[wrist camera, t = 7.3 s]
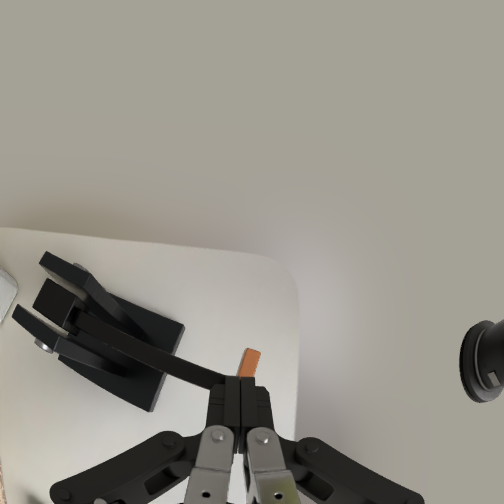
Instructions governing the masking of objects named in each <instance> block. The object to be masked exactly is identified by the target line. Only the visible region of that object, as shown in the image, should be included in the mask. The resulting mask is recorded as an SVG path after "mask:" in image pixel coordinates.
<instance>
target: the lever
mask: <svg viewBox="0 0 504 504" xmlns="http://www.w3.org/2000/svg"><path fill="white" fill-rule="evenodd" d="M32 307H33V308H34V309H35V310H37V311H38V312H39V313H41V314H42V315H44V316H45V317H46V318H48V319H49V320H51V321H52V322H54V323H55V324H56V325H58V326H59V327H61V328H63V329H64V330H66V331H68V332H69V333H71V334H73V335H74V336H78V333H79V331H80V330H82V331H84V332H85V333H87V334H89V335H90V336H92V337H94V338H96V339H97V340H99V341H101V342H103V343H105V344H106V345H108V346H110V347H112V348H114V349H116V350H118V351H120V352H122V353H123V354H125V355H127V356H129V357H131V358H134V359H136V360H138V361H140V362H142V363H144V364H146V365H148V366H151V367H153V368H155V369H157V370H159V371H162V372H164V373H166V374H169V375H171V376H174V377H176V378H178V379H181V380H183V381H186V382H189V383H191V384H194V385H196V386H199V387H202V388H205V389H207V390H211V388H212V387H213V386H214V385H215V384H223V385H225V379H226V375H223V374H220V373H217V372H215V371H212V370H209V369H206V368H204V367H201V366H198V365H196V364H193V363H191V362H188V361H186V360H183V359H181V358H178V357H176V356H173V355H171V354H169V353H166V352H164V351H162V350H160V349H157V348H155V347H153V346H151V345H148V344H146V343H144V342H142V341H140V340H138V339H136V338H134V337H132V336H129V335H127V334H125V333H123V332H121V331H120V330H118V329H116V328H114V327H112V326H110V325H108V324H106V323H104V322H102V321H101V320H99V319H97V318H95V317H93V316H92V315H90V314H88V312H89V310H90V308H89V307H88V306H87V305H86V304H85V303H84V302H83V301H82V300H81V299H80V298H79V297H78V296H77V295H75V294H74V293H72V292H70V291H68V290H67V289H65V288H64V287H62V286H60V285H59V284H57V283H55V282H54V281H52V280H51V279H49V278H47V279H46V281H45V282H44V284H43V286H42V288H41V290H40V292H39V294H38V296H37V298H36V300H35V302H34V304H33V306H32ZM260 355H261V352H259V351H256V350H253V349H250V348H247V349H245V350H244V353H243V356H242V359H241V362H240V365H239V368H238V371H237V374H236V376H240V377H241V376H245V377H254V374H255V371H256V368H257V364H258V361H259V358H260Z"/></svg>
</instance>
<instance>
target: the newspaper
mask: <svg viewBox="0 0 504 504" xmlns="http://www.w3.org/2000/svg"><path fill="white" fill-rule="evenodd" d="M0 504H6V499H5V494H4V488H3V482H2V474H1V465H0Z"/></svg>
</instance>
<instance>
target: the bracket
mask: <svg viewBox="0 0 504 504" xmlns="http://www.w3.org/2000/svg"><path fill="white" fill-rule="evenodd" d="M39 264H40V265H41V266H42V267H43V268H44V269H45V270H46V271H47V272H48V273H49V274H50V275H51V276H52V277H53V278H54V279H55V280H56V281H57V282H58V283H59V284H60V285H61V286H62V287H64V288H65V289H67V290H68V291H70V292H72V293H74V294H75V295H77V296H78V297H79V298H80V299H81V300H82V301H83V302H84V303H85V304H86V305H87V306H88V307H89V308H90V310H89V312H88V314H90V315H92V316H93V317H95V318H97V319H99V320H101V321H102V322H104V323H106V324H108V325H110V326H112V327H114V328H116V329H118V330H120V331H121V332H123V333H125V334H127V335H129V336H132V337H134V338H136V339H138V340H140V341H142V342H144V343H146V344H148V345H151V346H153V347H155V348H157V349H160V350H162V351H164V352H166V353H169V354H171V355H173V356H174V355H175V353H176V350H177V348H178V345H179V343H180V340H181V338H182V335H183V333H184V330H185V326H184V325H183V324H181V323H178V322H176V321H173V320H171V319H168V318H166V317H163V316H161V315H158V314H156V313H154V312H151V311H149V310H146V309H144V308H142V307H139V306H137V305H135V304H133V303H130V302H128V301H126V300H124V299H121V298H119V297H117V296H115V295H113V294H111V293H108V292H107V291H106V290H105V289H104V288H103V287H102V286H101V285H100V284H99V282H98V281H97V280H96V279H95V278H94V277H93V275H92V274H91V273H89V271H88V270H86V269H85V268H84V267H83V266H81V265H79V264H77V263H74V264H73V265H72V264H70V263H68V262H66V261H64V260H63V259H61V258H59V257H57V256H55V255H53V254H51V253H49V252H47V251H46V252H45V253H44V255H43V257H42V258H41V260H40V262H39ZM12 318H13V319H14V320H15V321H17V322H18V323H19V324H20V325H21V326H22V327H23V328H25V329H26V330H27V331H28V332H29V333H31V334H32V335H33V336H34V337H36V339H35V344H36V345H37V346H39V347H40V348H42V349H43V350H45V351H46V352H48V353H51V354H52V353H53V351H54V352H57V353H59V357H58V360H60V361H61V362H63V363H64V364H65V365H67V366H68V367H70V368H71V369H73V370H74V371H76V372H77V373H79V374H80V375H82V376H83V377H85V378H87V379H88V380H90V381H91V382H93V383H95V384H96V385H98V386H100V387H101V388H103V389H105V390H107V391H108V392H110V393H112V394H114V395H116V396H117V397H119V398H121V399H123V400H125V401H127V402H129V403H131V404H133V405H135V406H137V407H139V408H141V409H143V410H145V411H147V412H153V410H154V407H155V404H156V402H157V399H158V396H159V394H160V391H161V389H162V386H163V383H164V381H165V378H166V376H167V374H166V373H164V372H162V371H159V370H157V369H155V368H153V367H151V366H148V365H146V364H144V363H142V362H140V361H138V360H136V359H134V358H131V357H129V356H127V355H125V354H123V353H122V352H120V351H118V350H116V349H114V348H112V347H110V346H108V345H106V344H105V343H103V342H101V341H99V340H97V339H96V338H94V337H92V336H90V335H89V334H87V333H85V332H84V331H82V330H80V331H79V333H78V336H74V335H73V334H71V333H68V335H66V334H64V333H62V332H61V331H59V330H57V329H56V328H54V327H52V326H51V325H49V324H48V323H46V322H44V321H43V320H41V319H40V318H38V317H37V316H35V315H34V314H32V313H31V312H29V311H28V310H26V309H25V308H23V307H22V306H20V305H19V304H17V306H16V308H15V310H14V312H13V314H12Z"/></svg>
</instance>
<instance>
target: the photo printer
mask: <svg viewBox="0 0 504 504" xmlns="http://www.w3.org/2000/svg"><path fill="white" fill-rule="evenodd" d="M17 291H18V287H17V283H16V281H15V280H14V279H13V278H12V277H11V276H10V275H9V274H8V273H6V272H5V271H4V270H3V269H2V268H1V267H0V324H1V322H2V320H3V318H4V316H5V314H6V312H7V310H8V309H9V307H10V305H11V303H12V301H13V299H14V298H15V296H16V293H17Z"/></svg>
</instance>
